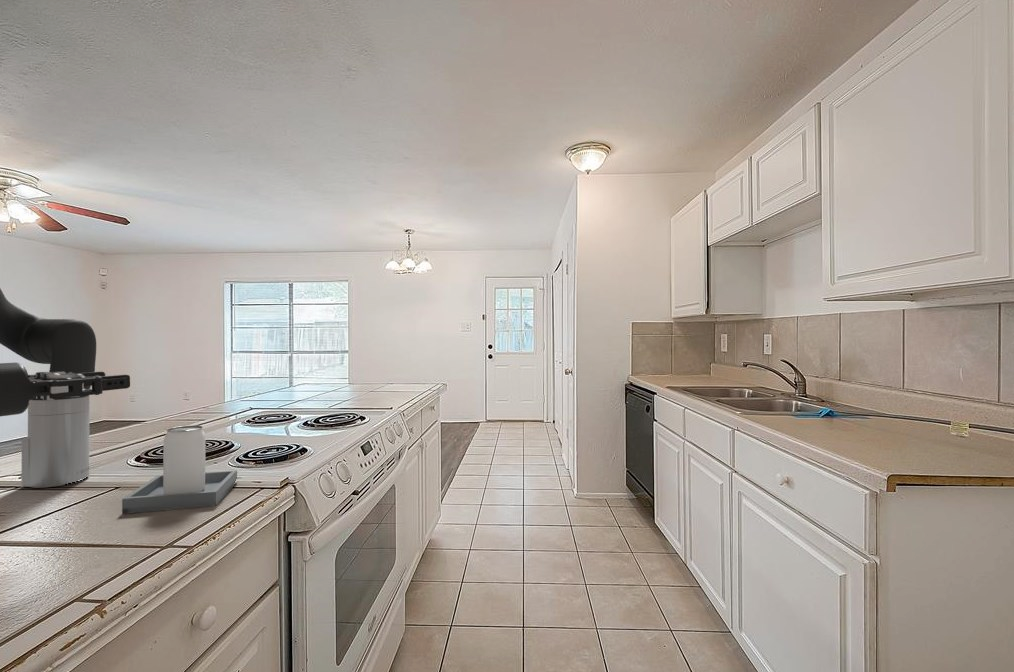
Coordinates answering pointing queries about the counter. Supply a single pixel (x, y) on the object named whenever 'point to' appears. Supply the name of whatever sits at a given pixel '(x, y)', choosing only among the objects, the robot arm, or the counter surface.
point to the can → (184, 460)
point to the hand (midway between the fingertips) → (116, 379)
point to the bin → (179, 494)
